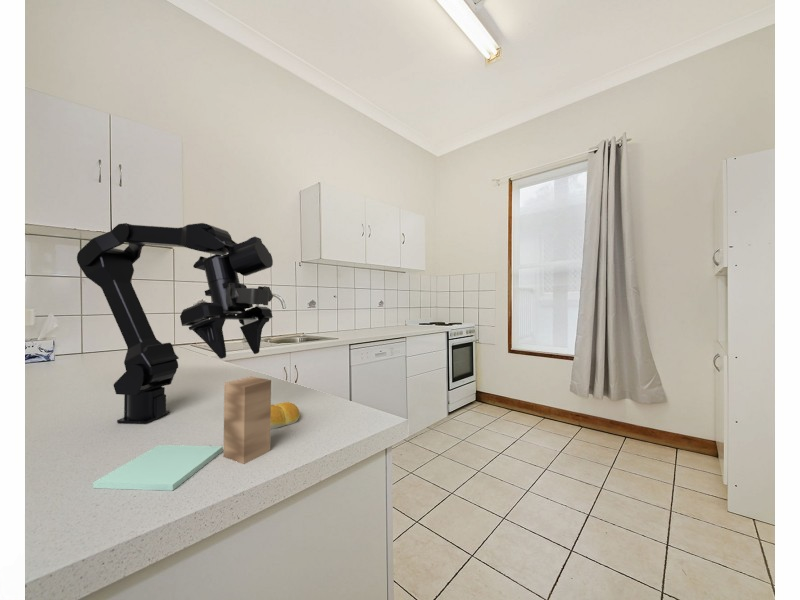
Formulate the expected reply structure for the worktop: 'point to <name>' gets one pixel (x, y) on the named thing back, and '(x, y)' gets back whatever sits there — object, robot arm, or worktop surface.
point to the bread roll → (283, 414)
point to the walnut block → (247, 418)
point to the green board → (159, 468)
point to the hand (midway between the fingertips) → (241, 355)
